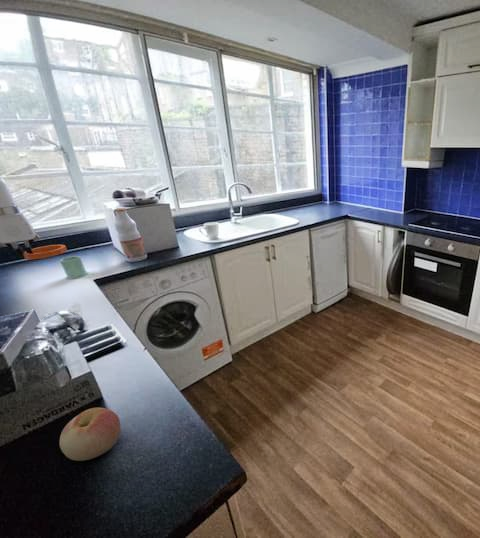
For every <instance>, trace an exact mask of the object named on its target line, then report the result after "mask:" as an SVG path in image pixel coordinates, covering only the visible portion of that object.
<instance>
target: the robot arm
mask: <svg viewBox="0 0 480 538" xmlns="http://www.w3.org/2000/svg"><path fill="white" fill-rule="evenodd" d="M40 239H41V236H40V235H39V234H38V233H36V231H35V229H34V227H33V225H32V223H31V222H30V220H29V219H28V218H27V216H26V215H25V214H24V213H23V212H21V210H20V209H19V207H18V205H17V202H16V200H15V198H14V196H13V194H12V191H10V187H9V186H8V183H7V182H6V180H5V179H4V178H2V177H0V247H1V246H2V247H8V248H11V249H14V250H15V251H16V253H17V256H18V257H21V258H22V259H25V257H24V256H23V253H24V252H25V251H26V252H27V253H30V254H34V253H33V251H32V249H33V248H32V247H31V245H32V244H33V243H34V242H36V241H38V240H40ZM18 242H23V244H24V250H25V251H24V250H23V248H22V246H20V245H19V243H18Z"/></svg>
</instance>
